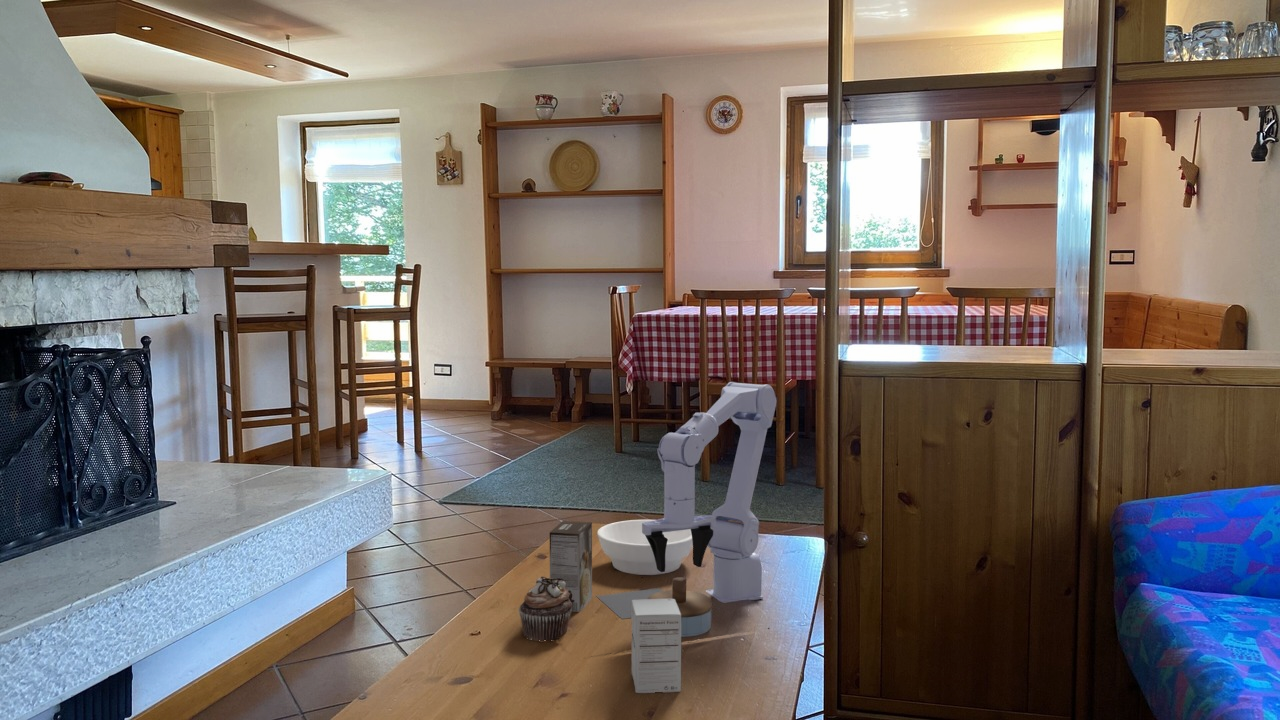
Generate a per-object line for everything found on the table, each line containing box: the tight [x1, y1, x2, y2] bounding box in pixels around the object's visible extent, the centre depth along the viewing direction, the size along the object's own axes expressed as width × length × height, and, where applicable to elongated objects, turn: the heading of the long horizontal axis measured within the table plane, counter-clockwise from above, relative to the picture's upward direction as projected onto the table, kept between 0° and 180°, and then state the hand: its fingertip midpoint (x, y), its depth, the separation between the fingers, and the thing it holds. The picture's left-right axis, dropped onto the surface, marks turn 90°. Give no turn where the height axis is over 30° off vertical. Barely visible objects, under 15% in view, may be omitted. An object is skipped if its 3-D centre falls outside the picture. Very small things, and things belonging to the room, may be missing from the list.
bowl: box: [596, 519, 693, 576], centre depth 205 cm, size 22×22×8 cm
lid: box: [648, 577, 712, 617], centre depth 168 cm, size 12×12×5 cm
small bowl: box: [681, 609, 712, 638], centre depth 168 cm, size 11×11×4 cm
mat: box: [595, 587, 664, 620], centre depth 180 cm, size 14×14×1 cm
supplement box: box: [631, 599, 682, 694], centre depth 144 cm, size 7×7×13 cm
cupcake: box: [518, 576, 572, 642], centre depth 165 cm, size 10×10×10 cm
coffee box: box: [549, 520, 593, 613], centre depth 179 cm, size 9×6×16 cm
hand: (679, 568), depth 171 cm, fingers open, 7 cm apart
